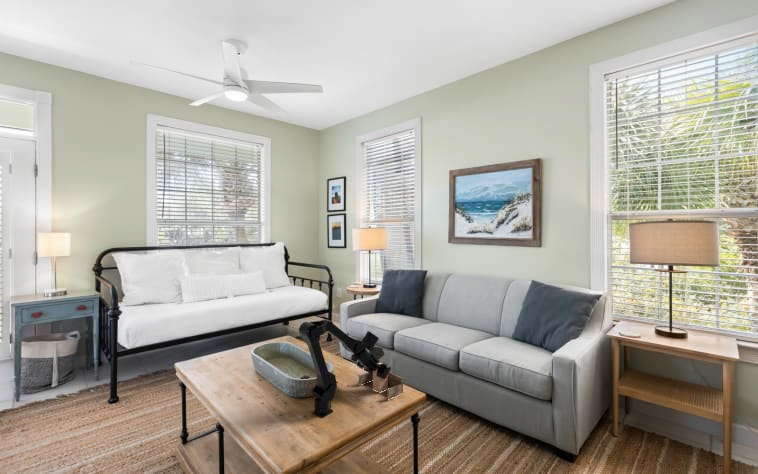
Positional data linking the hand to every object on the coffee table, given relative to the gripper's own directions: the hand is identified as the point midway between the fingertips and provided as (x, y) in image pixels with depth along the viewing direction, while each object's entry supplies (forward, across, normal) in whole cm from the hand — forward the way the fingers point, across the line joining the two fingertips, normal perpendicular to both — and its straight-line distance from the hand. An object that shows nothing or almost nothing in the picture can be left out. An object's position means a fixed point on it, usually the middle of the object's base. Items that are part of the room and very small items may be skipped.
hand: (382, 375), depth 169 cm
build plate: (-13, +28, +24) cm, 39 cm away
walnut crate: (+4, 0, +6) cm, 7 cm away
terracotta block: (+4, 0, +6) cm, 7 cm away
